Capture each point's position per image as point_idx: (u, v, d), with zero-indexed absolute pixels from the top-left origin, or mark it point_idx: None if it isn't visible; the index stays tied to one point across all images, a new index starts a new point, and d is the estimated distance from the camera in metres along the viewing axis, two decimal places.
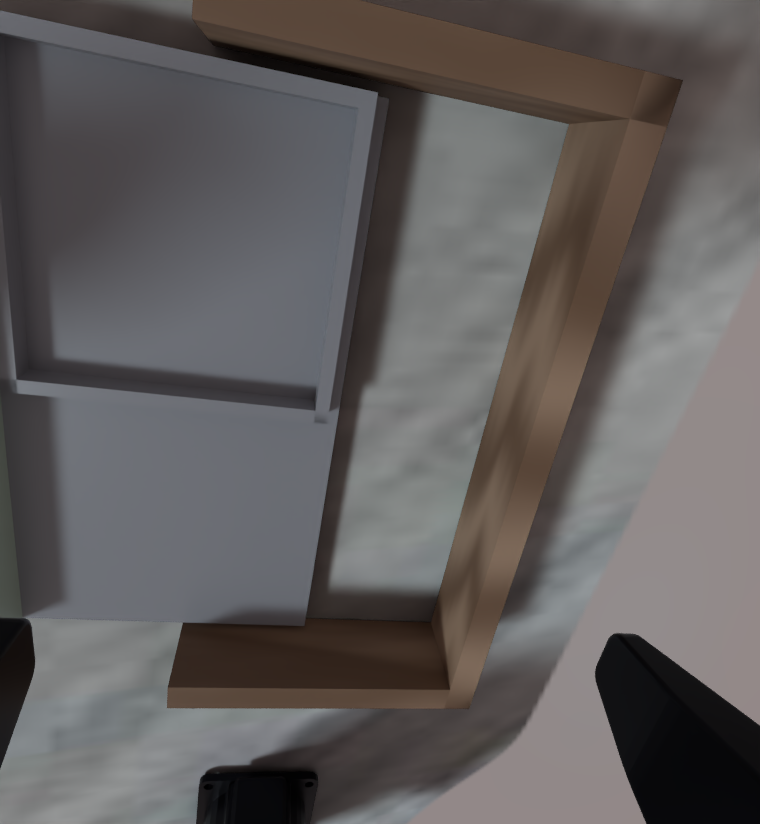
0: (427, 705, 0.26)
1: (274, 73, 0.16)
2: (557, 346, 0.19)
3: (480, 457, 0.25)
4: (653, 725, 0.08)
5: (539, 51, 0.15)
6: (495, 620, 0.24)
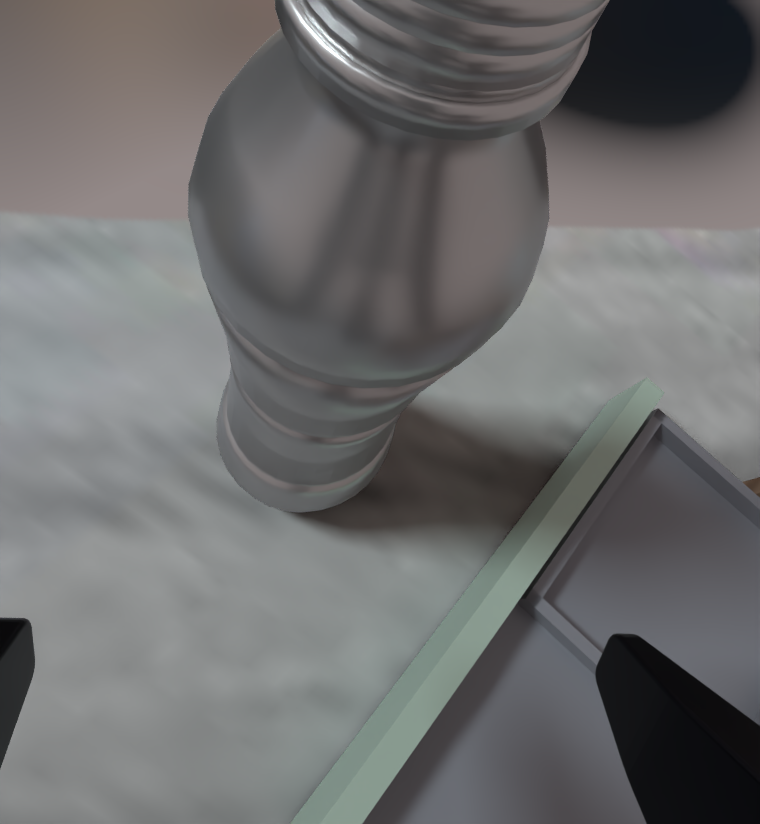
0: None
1: None
2: None
3: None
4: (653, 725, 0.08)
5: None
6: None
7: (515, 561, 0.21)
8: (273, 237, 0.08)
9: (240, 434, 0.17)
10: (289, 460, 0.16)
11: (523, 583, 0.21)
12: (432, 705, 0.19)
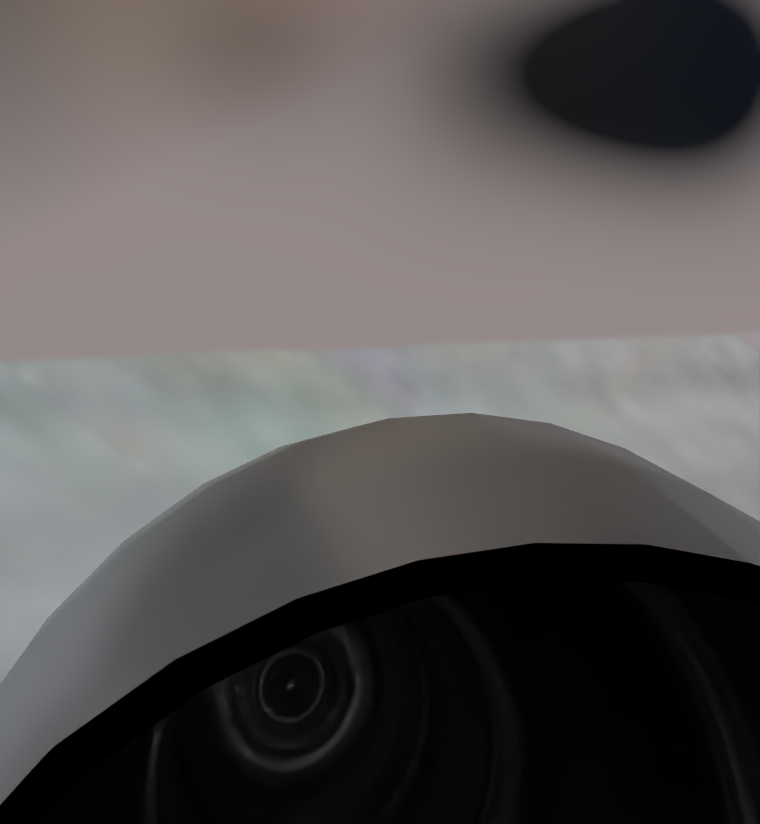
0: None
1: None
2: None
3: None
4: None
5: None
6: None
7: None
8: None
9: None
10: None
11: None
12: None
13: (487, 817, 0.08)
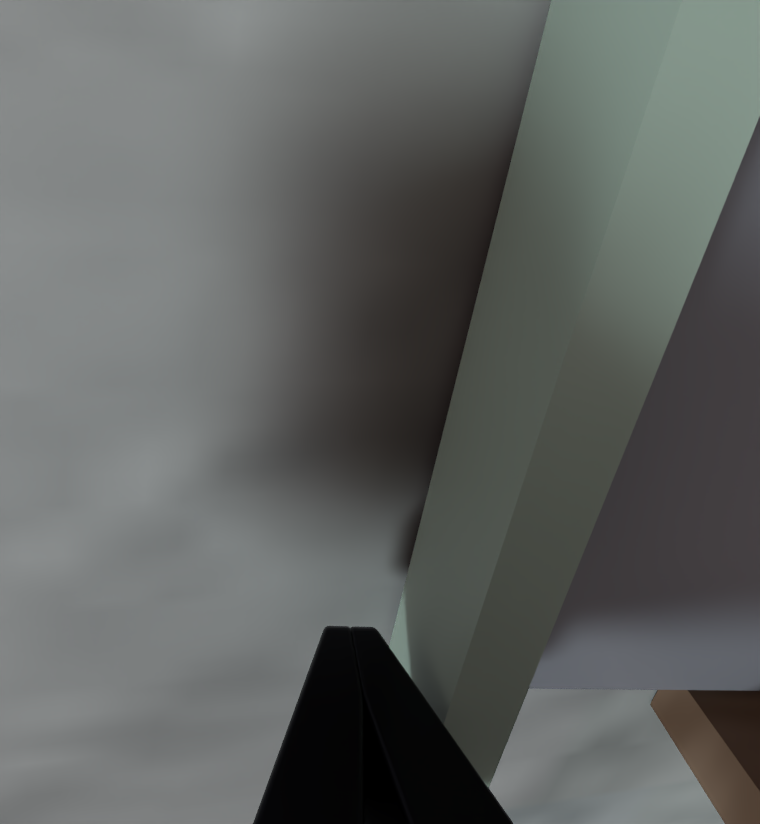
0: None
1: None
2: None
3: None
4: None
5: None
6: None
7: None
8: None
9: None
10: None
11: None
12: (589, 466, 0.06)
13: None
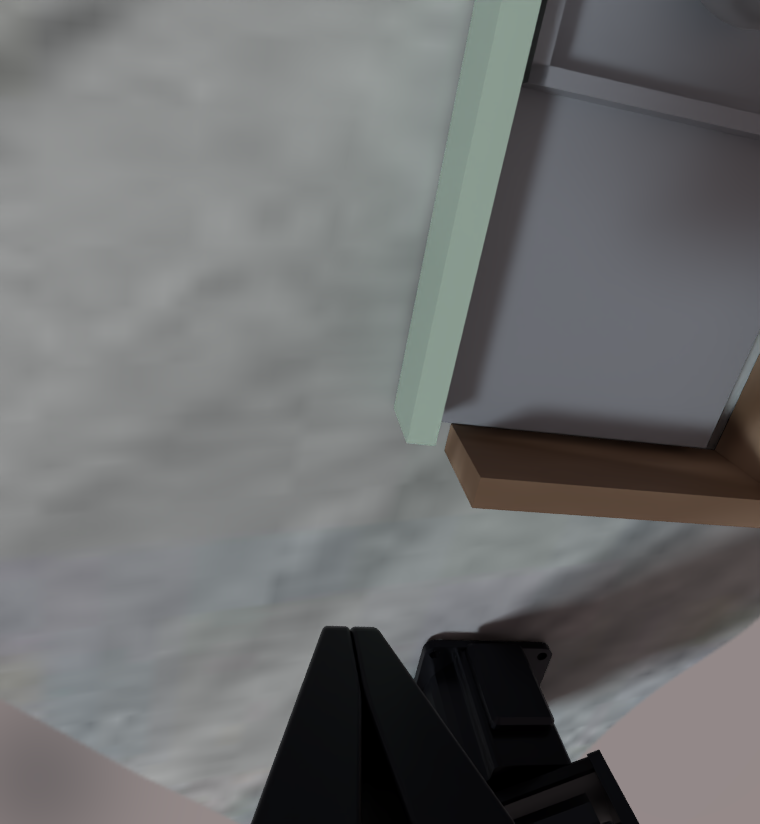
0: (755, 522, 0.21)
1: None
2: None
3: None
4: None
5: None
6: None
7: (495, 45, 0.14)
8: None
9: None
10: None
11: (516, 71, 0.15)
12: (465, 273, 0.17)
13: None
